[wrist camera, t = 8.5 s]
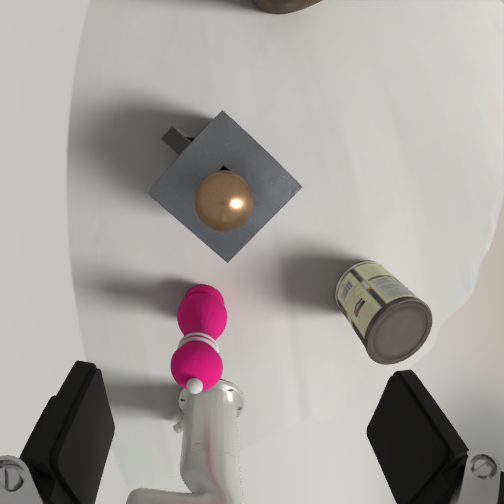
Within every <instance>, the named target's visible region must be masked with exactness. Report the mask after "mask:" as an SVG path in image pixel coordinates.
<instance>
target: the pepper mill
mask: <svg viewBox="0 0 504 504" xmlns="http://www.w3.org/2000/svg"><path fill="white" fill-rule="evenodd" d="M177 319H178V324H179V327H180V330H181V331H182V333H183V334H184V337H183V338H182V339H181V340H180V342H179V346H178V349H177V350H176V351H175V353H174V354H173V356H172V359H171V372H172V375H173V377H174V379H175V381H176V382H177V383H178V384H179V385H180V386H182V387H183V388H185V389H187V390H188V391H189V392H190V393H193V394H197V393H200V392H201V391H205V390H208V389H210V388H212V387H213V386H215V385H216V384H217V383H218V381H219V379H220V378H221V375H222V370H223V365H222V360H221V358H220V356H219V348H218V344H217V343H216V339H217V338H218V337H219V336H220V335H221V334H222V332H223V331H224V329H225V326H226V322H227V312H226V309H225V306H224V300H223V297H222V295H221V294H220V292H219V291H218V290H216V289H215V288H213V287H211V286H207V285H199V286H195V287H193V288H192V289H190V290H189V291H188V292H187V294H186V295H185V298H184V300H183V301H182V303H181V304H180V306H179V309H178V315H177Z"/></svg>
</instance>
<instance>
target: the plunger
mask: <svg viewBox="0 0 504 504" xmlns="http://www.w3.org/2000/svg"><path fill="white" fill-rule="evenodd" d="M252 208H253V197H252V193H251V191H250V189H249V187H248V185H247V183H246V181H245V180H244V179H243V178H242V177H241V176H240V175H239V174H237V173H235V172H232V171H230V170H229V169H227V168H226V167H225V166H224V165H223V166H222V168H221V169H220V170H219V171H216V172H214V173H212V174H210V175H209V176H207V177H206V178H205V179H204V181H203V182H202V183H201V185H200V187H199V188H198V190H197V192H196V195H195V210H196V213H197V215H198V217H199V219H200V220H201V221H202V222H203V223H204V224H205V225H206V226H207V227H209V228H211V229H213V230H217V231H230V230H234V229H236V228H238V227H240V226H241V225H243V224H244V223H245V222H246V221H247V219H248V218H249V216H250V214H251V212H252Z"/></svg>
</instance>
